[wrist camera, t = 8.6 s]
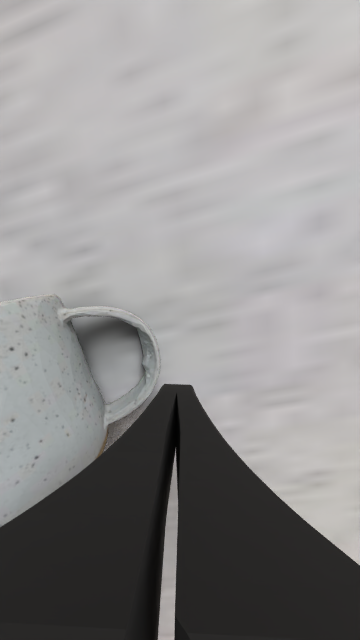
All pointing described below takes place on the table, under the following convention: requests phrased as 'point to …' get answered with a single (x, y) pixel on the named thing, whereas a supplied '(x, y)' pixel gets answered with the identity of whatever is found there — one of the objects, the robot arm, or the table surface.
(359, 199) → the table surface
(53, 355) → the ceramic mug
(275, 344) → the table surface
